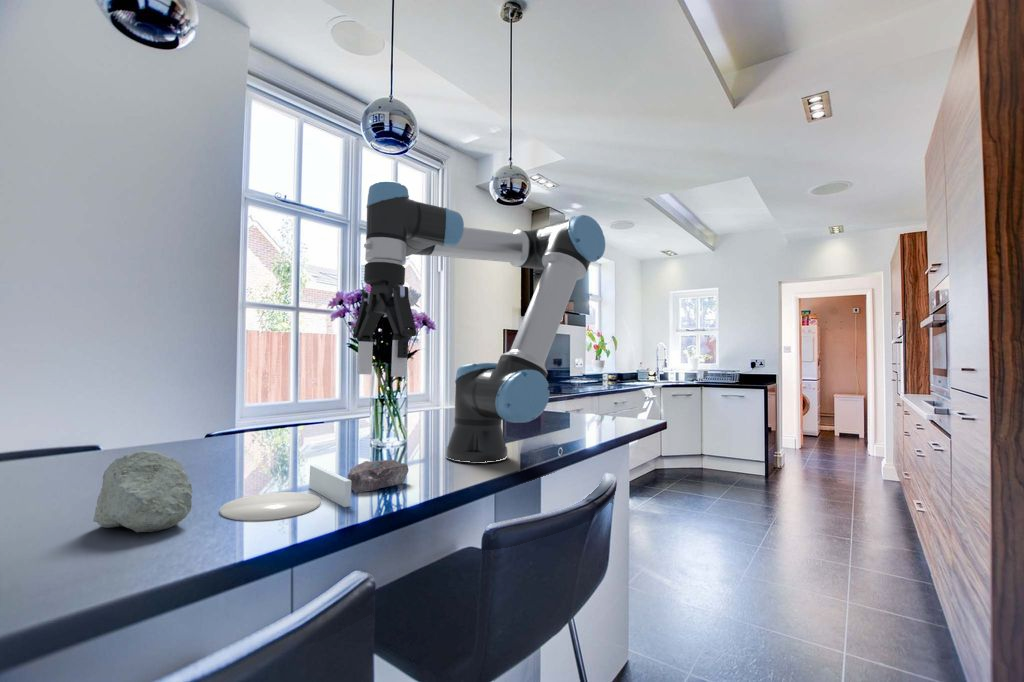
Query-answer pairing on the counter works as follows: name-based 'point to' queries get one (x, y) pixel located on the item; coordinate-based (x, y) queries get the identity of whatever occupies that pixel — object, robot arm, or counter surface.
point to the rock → (377, 475)
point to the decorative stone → (144, 493)
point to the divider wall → (330, 485)
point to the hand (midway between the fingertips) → (380, 375)
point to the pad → (270, 506)
